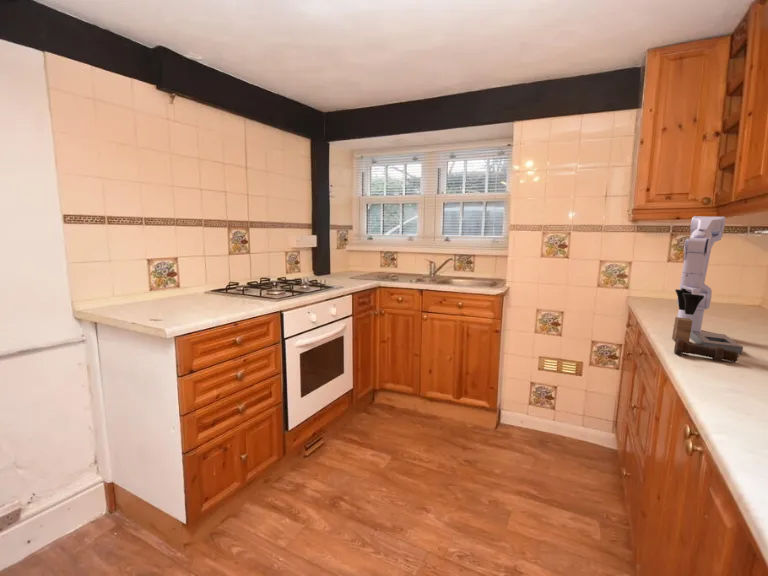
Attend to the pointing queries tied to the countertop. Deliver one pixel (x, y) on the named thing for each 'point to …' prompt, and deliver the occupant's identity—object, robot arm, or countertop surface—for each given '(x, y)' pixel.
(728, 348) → the collar plate
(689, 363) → the countertop surface
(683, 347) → the bolt
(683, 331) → the pin
